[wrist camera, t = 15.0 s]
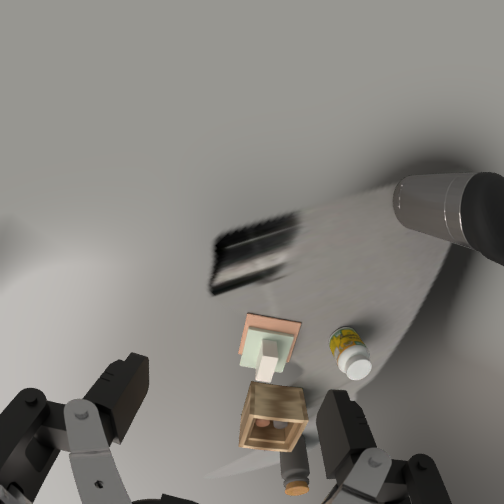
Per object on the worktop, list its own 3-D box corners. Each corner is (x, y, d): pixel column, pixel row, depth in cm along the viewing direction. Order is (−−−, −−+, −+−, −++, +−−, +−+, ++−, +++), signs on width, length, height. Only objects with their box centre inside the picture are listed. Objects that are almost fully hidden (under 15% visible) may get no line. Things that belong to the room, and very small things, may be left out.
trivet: (300, 322, 44) (301, 323, 44) (288, 360, 46) (288, 362, 45) (247, 312, 44) (247, 313, 44) (238, 352, 46) (238, 353, 45)
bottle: (285, 449, 52) (289, 498, 37) (274, 438, 51) (277, 490, 36) (308, 441, 51) (316, 491, 36) (298, 429, 50) (305, 482, 35)
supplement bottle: (326, 352, 45) (338, 385, 36) (330, 326, 44) (345, 356, 35) (354, 350, 45) (371, 382, 36) (359, 325, 44) (379, 354, 35)
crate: (302, 388, 47) (308, 420, 38) (288, 420, 49) (291, 452, 41) (251, 381, 47) (249, 414, 38) (241, 414, 49) (238, 446, 40)
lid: (293, 334, 44) (297, 353, 38) (281, 369, 46) (284, 390, 40) (248, 326, 44) (247, 345, 38) (240, 362, 46) (237, 383, 40)
